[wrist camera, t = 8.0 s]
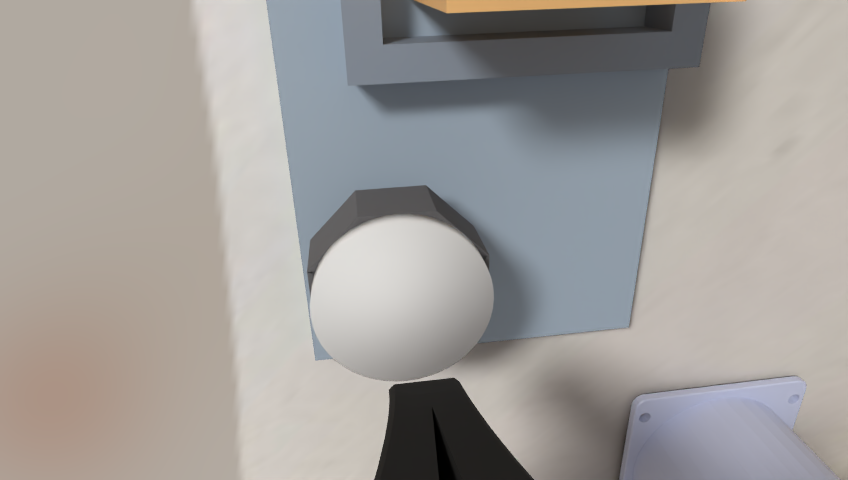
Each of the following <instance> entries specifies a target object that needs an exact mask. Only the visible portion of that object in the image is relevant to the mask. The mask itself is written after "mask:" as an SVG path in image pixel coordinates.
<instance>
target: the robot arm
mask: <svg viewBox="0 0 848 480" xmlns="http://www.w3.org/2000/svg"><path fill="white" fill-rule="evenodd" d="M805 391H806V383H805V382H804V381H803V380H802V379H801V378H800V377H798V376H791V377H783V378H775V379H766V380H758V381H750V382H741V383H733V384H725V385H716V386H708V387H700V388H692V389H683V390H675V391H667V392H658V393H650V394H643V395H639V396H638V397H636V398H635V399H634V400H633V402H632V405H631V411H630V417H629V423H628V429H627V435H626V441H625V447H624V453H623V459H622V465H621V471H620V477H619V480H841V479H840V478H839V477H838V476H837V475H836V474H835V473H834V472H833V471H832V470H831V469H830V468H829V467H828V466H827V465H826V464H825V463H824V462H823V461H822V460H821V459H820V458H819V457H818V456H817V455H816V454H815V453H814V452H813V451H812V450H811V449H810V448H809V447H808V446H807V445H806V444H805V443H804V442H803V441H802V440H801V439H800V438H799V437H798V436H797V435H796V434H795V433H794V432H793V431H792V430H793V427H794V424H795V421H796V418H797V415H798V412H799V409H800V406H801V403H802V400H803V397H804V394H805ZM389 397H390V403H389V416H388V423H387V429H386V435H385V440H384V444H383V448H382V452H381V456H380V461H379V465H378V469H377V472H376V476H375V479H374V480H534V479H533V478H532V477H531V476H530V475H529V473H528V472H527V471H526V470H525V469H524V468H523V467H522V466H521V464H520V463H519V462H518V461H517V460H516V459H515V457H514V456H513V455H512V454H511V453H510V451H509V450H508V449H507V448H506V446H505V445H504V444H503V443H502V442H501V440H500V439H499V438H498V437H497V435H496V434H495V433H494V432H493V430H492V429H491V428H490V426H489V425H488V424H487V422H486V421H485V420H484V418H483V417H482V415H481V414H480V413H479V411H478V410H477V408H476V407H475V406H474V404H473V403H472V401H471V400H470V398H469V397H468V395H467V393H466V392H465V390H464V389H463V387H462V385H461V384H460V382H459V381H458V380H456V379H455V378H448V379H439V380H430V381H421V382H413V383H404V384H395V385H393V386H392V387H391V388H390V389H389ZM644 413H645V414H644ZM642 414H643V415H642Z"/></svg>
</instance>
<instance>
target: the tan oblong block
mask: <svg viewBox="0 0 848 480" xmlns="http://www.w3.org/2000/svg"><path fill="white" fill-rule="evenodd" d="M415 1H417V2H420V3H422V4H425V5H427V6H430V7H432V8H435V9H437V10H440V11H442V12H445V13H465V12H489V11H514V10H539V9H563V8H588V7H613V6H637V5H662V4H687V3H711V2H736V1H746V0H415Z"/></svg>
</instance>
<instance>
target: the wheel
mask: <svg viewBox="0 0 848 480" xmlns="http://www.w3.org/2000/svg"><path fill="white" fill-rule="evenodd" d="M489 256H490V255H489V253H488V252H487V250H486V248H485V246H484V244H483V242H482V240H481V238H480V237H479V235H478V233H477V231H476V229H475V227H474V226H473V225H472V224H471V223H470V222H468V221H467V220H466V219H465V218H464V217H463V216H461V215H460V214H459V213H458V212H457V211H456V210H454V209H453V208H452V207H451V206H450V205H449V204H447V203H446V202H445V201H444V200H443V199H442V198H440V197H439V196H438V195H437V194H436V193H435V192H433V191H432V190H431V189H430V188H429V187H428V186H426V185H421V186H407V187H394V188H380V189H367V190H355V191H354V192H353V193H352V195H351V196H350V197H349V198H348V199H347V200H346V201H345V202H344V203H343V204H342V206H341V207H340V208H339V209H338V210H337V211H336V212H335V213H334V214H333V215H332V217H331V218H330V219H329V220H328V221H327V222H326V223H325V224H324V225H323V226H322V227H321V229H320V230H319V231H318V232H317V233H316V234H315V235H314V236H313V237H312V238H311V240H310V247H309V257H308V267H307V275H308V283H309V290H310V317H311V321H312V326H313V329H314V331H315V335H316V337H317V338H318V340H319V342H320V343H321V345H322V347H323V348H324V349H325V350H326V352H327V353H328V354H329V355H330V356H331V357H332V358H333V359H334V360H335V361H337V362H338V363H339V364H341V365H342V366H343V367H345V368H347V369H349V370H351V371H352V372H354V373H357V374H359V375H362V376H365V377H368V378H372V379H377V380H384V381H408V380H414V379H420V378H423V377H427V376H430V375H433V374H435V373H438V372H440V371H442V370H444V369H446V368H448V367H450V366H452V365H453V364H455V363H456V362H458V361H459V360H460V359H462V358H463V357H464V356H465V355H466V354H468V353H469V352H470V350H471V349H472V348H473V347H474V346H475V345H476V344H477V342H478V341H479V340H480V338H481V337H482V335H483V333H484V332H485V330H486V328H487V326H488V323H489V321H490V318H491V314H492V310H493V303H494V290H493V284H492V279H491V276H490V273H489Z"/></svg>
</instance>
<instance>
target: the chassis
mask: <svg viewBox="0 0 848 480" xmlns="http://www.w3.org/2000/svg"><path fill="white" fill-rule="evenodd" d="M266 2H267V10H268V17H269V24H270V32H271V39H272V46H273V53H274V61H275V68H276V75H277V83H278V90H279V97H280V105H281V112H282V119H283V127H284V134H285V141H286V149H287V156H288V163H289V170H290V178H291V185H292V192H293V200H294V207H295V214H296V222H297V229H298V236H299V244H300V251H301V258H302V265H303V273H304V280H305V287H306V295H307V302H308V309H309V317H310V290H309V283H308V275H307V267H308V257H309V247H310V240H311V238H312V237H313V236H314V235H315V234H316V233H317V232H318V231H319V230H320V229H321V227H322V226H323V225H324V224H325V223H326V222H327V221H328V220H329V219H330V218H331V217H332V215H333V214H334V213H335V212H336V211H337V210H338V209H339V208H340V207H341V206H342V204H343V203H344V202H345V201H346V200H347V199H348V198H349V197H350V196H351V195H352V193H353V192H354V191H355V190H367V189H380V188H394V187H407V186H421V185H426V186H428V187H429V188H430V189H431V190H432V191H433V192H435V193H436V194H437V195H438V196H439V197H440V198H442V199H443V200H444V201H445V202H446V203H447V204H449V205H450V206H451V207H452V208H453V209H454V210H456V211H457V212H458V213H459V214H460V215H461V216H463V217H464V218H465V219H466V220H467V221H468V222H470V223H471V224H472V225H473V226H474V227H475V229H476V231H477V233H478V235H479V237H480V238H481V240H482V242H483V244H484V246H485V248H486V250H487V252H488V253H489V255H490V256H489V273H490V276H491V279H492V284H493V290H494V303H493V310H492V314H491V318H490V321H489V323H488V326H487V328H486V330H485V332H484V333H483V335H482V337H481V338H480V340H479V341H478V342H477V343H485V342H495V341H504V340H513V339H523V338H532V337H542V336H551V335H560V334H570V333H579V332H589V331H598V330H607V329H617V328H626V327H629V322H630V316H631V309H632V303H633V296H634V290H635V283H636V277H637V270H638V264H639V257H640V251H641V244H642V238H643V231H644V225H645V218H646V212H647V205H648V199H649V192H650V185H651V179H652V172H653V166H654V159H655V153H656V146H657V140H658V133H659V127H660V120H661V114H662V107H663V101H664V94H665V88H666V81H667V75H668V69H671V68H690V67H699V65H700V59H701V53H702V48H703V42H704V36H705V31H706V25H707V19H708V14H709V8H710V3H687V4H662V5H637V6H613V7H588V8H563V9H539V10H514V11H489V12H465V13H445V12H442V11H440V10H437V9H435V8H432V7H430V6H427V5H425V4H422V3H420V2H417V1H415V0H266ZM310 324H311V331H312V339H313V346H314V353H315V360H325V359H333V358H332V357H331V356H330V355H329V354H328V353H327V352H326V350H325V349H324V348H323V347H322V345H321V343H320V342H319V340H318V338H317V337H316V335H315V331H314V329H313V326H312V321H311V317H310Z"/></svg>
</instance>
